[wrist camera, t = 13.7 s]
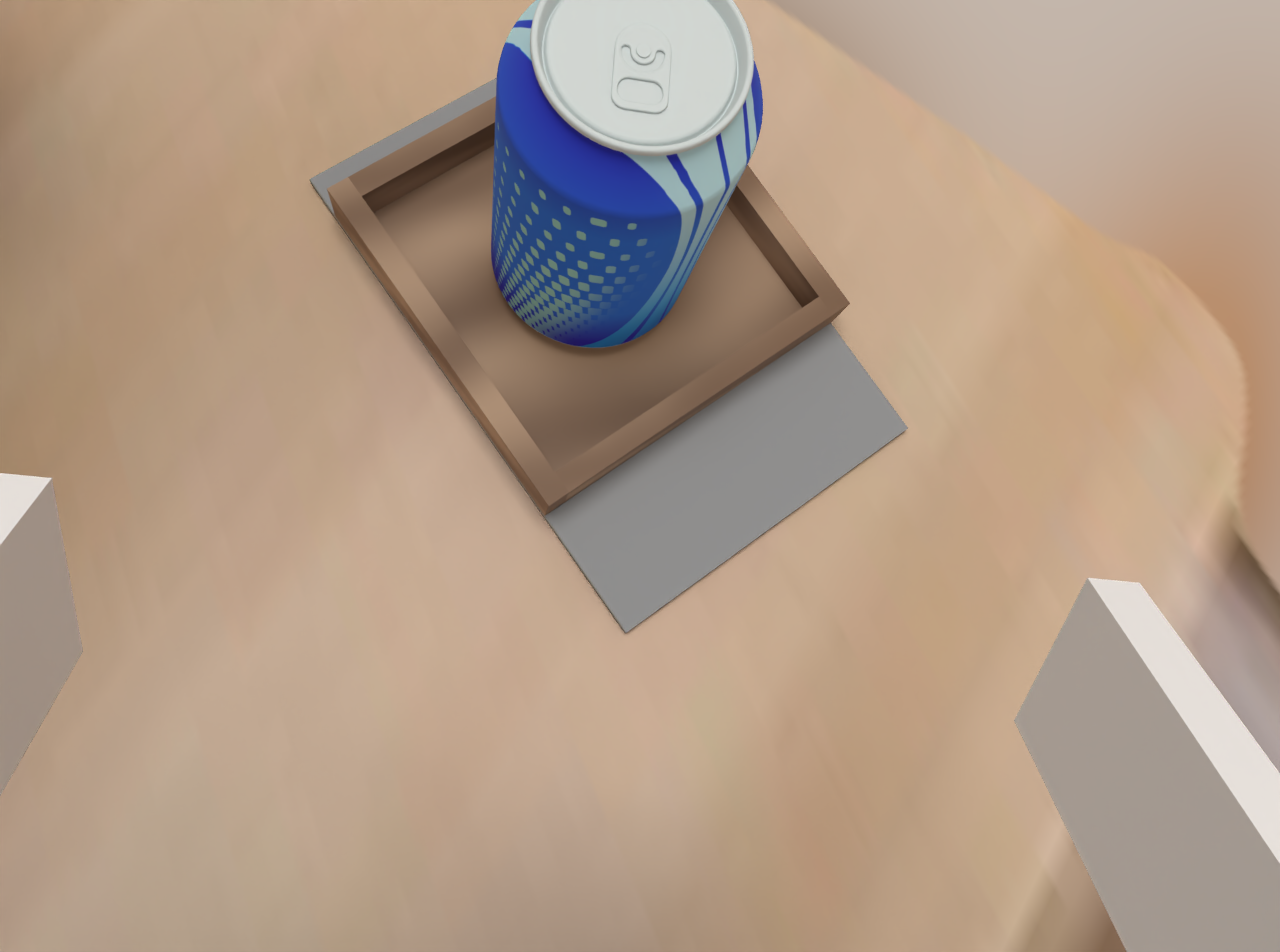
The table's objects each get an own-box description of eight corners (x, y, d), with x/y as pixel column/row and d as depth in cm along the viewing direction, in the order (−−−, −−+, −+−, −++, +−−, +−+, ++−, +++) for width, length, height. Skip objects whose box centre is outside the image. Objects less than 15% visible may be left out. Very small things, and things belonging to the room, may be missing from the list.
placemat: (311, 183, 45) (309, 179, 44) (605, 23, 49) (606, 18, 48) (624, 633, 43) (626, 632, 43) (904, 430, 47) (908, 428, 46)
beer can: (450, 262, 44) (435, 32, 28) (584, 143, 46) (639, -131, 31) (589, 396, 44) (650, 239, 28) (717, 271, 46) (840, 61, 30)
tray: (334, 215, 44) (326, 188, 42) (630, 51, 48) (639, 17, 46) (544, 515, 43) (548, 506, 41) (830, 322, 47) (849, 303, 44)
